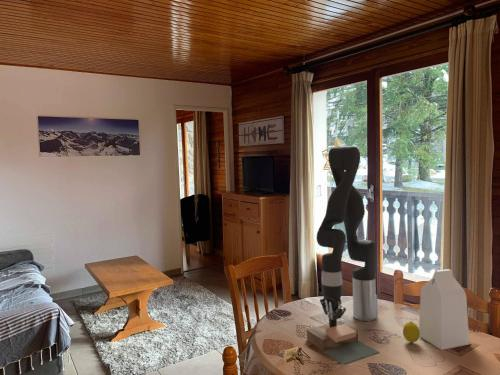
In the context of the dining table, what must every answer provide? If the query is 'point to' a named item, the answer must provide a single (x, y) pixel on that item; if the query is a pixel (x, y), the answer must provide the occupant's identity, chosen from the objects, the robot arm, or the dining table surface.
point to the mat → (351, 352)
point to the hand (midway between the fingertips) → (332, 327)
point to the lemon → (411, 332)
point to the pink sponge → (340, 332)
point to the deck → (327, 337)
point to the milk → (443, 311)
